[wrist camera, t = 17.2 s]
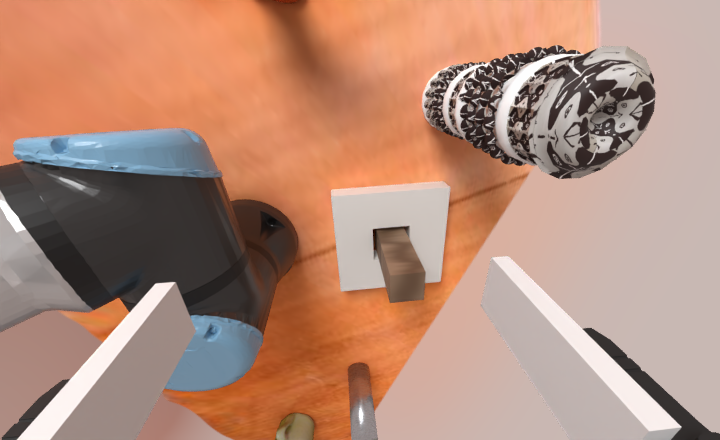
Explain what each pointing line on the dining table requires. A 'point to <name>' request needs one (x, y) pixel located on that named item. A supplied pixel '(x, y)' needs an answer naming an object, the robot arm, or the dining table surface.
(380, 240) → the square peg
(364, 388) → the round peg
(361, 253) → the socket plate
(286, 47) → the dining table surface
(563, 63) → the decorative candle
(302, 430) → the mug
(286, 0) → the toy drill
